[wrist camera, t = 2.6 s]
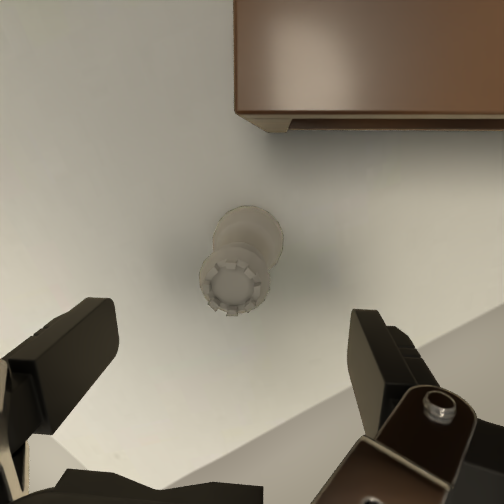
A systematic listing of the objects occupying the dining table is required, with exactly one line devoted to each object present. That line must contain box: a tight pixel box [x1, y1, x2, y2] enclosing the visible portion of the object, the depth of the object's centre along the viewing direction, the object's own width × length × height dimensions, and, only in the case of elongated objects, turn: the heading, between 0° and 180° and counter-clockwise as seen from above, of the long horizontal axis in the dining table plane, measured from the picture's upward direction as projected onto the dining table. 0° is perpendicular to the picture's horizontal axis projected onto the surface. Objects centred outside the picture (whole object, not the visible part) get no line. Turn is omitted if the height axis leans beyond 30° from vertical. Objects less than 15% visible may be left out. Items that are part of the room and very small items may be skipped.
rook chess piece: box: [199, 206, 283, 316], centre depth 18 cm, size 4×4×8 cm
